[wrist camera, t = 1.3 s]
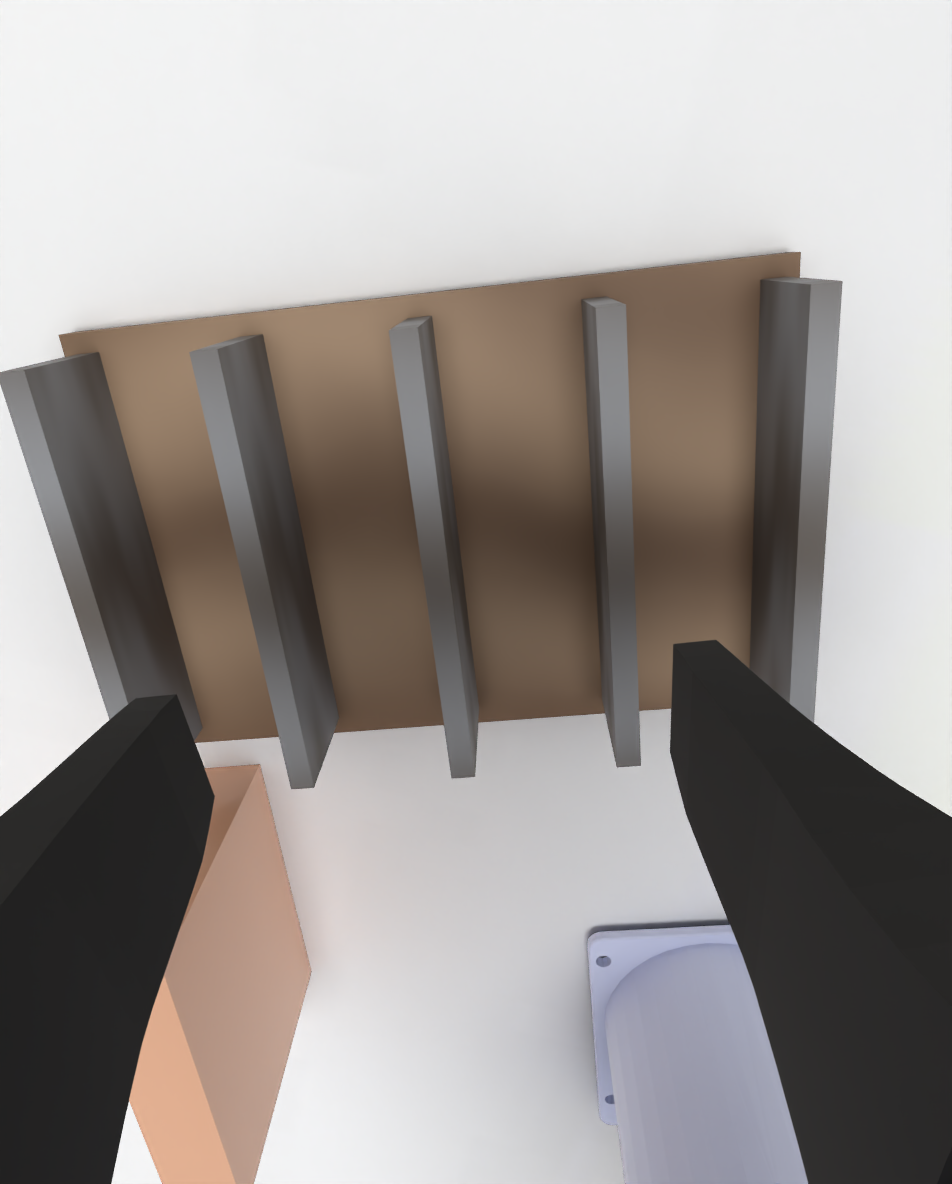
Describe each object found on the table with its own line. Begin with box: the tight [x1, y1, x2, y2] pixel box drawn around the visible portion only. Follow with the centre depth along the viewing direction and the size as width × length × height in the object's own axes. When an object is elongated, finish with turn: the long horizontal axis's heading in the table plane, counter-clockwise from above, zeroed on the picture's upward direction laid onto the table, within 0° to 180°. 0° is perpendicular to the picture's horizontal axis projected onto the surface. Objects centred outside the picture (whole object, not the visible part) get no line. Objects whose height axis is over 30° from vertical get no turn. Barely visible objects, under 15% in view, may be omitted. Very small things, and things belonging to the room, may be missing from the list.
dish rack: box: [0, 252, 842, 789], centre depth 20 cm, size 12×18×4 cm, turn 96°
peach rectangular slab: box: [129, 764, 311, 1184], centre depth 24 cm, size 9×2×8 cm, turn 6°
